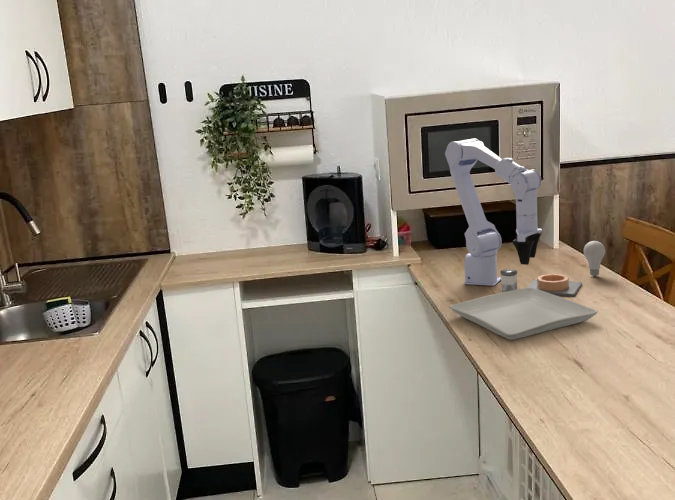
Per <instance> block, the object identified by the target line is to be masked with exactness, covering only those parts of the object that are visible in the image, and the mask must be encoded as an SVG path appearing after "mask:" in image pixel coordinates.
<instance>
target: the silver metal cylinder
mask: <svg viewBox="0 0 675 500" xmlns="http://www.w3.org/2000/svg"><path fill="white" fill-rule="evenodd" d="M499 272H500V277H501V280H500V282H501V293H502V292H507V291H513V290H518V270H517V269H513V268H509V269H508V268H505V269H502V270H500V271H499Z"/></svg>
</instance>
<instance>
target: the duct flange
mask: <svg viewBox="0 0 675 500" xmlns="http://www.w3.org/2000/svg"><path fill="white" fill-rule="evenodd" d="M582 286H583V282H582V281H574V280H573V281H572V280H570V281H569V277H568V276H567V275H565V274H561V273H560V274H559V273H549V274H548V273H546V274H543V275H539V276H537V278H535V279H532V281H531V282H530V283H528V285H527V286H526V287H525V288H529V287H530V288H534V289H537V290H540V291H544V292H547V293H550V294H553V295H556V296H559V297H572V298H573V297H575V296H576V295H577V293H578V291H579V290H580V288H581V287H582Z"/></svg>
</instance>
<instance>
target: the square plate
mask: <svg viewBox="0 0 675 500" xmlns="http://www.w3.org/2000/svg"><path fill="white" fill-rule="evenodd" d="M448 308H449V309H451V310H452V311H453V312H454V313H455V314H457V315H459V316H460V317H462V318H463V319H466V320H469V321H471V322H473V323H475V324H477V325H479V326H480V327H483V328H484V329H486V330H489V331H490V332H492V333H494V334H495V335H498V336H501V337H503V338H505V339H507V340H517V339H518V340H519V339H522V338H526V337H530V336H533V335H538V334H540V333H544V332H548V331H552V330H557V329H559V328H563V327H567V326H572V325H576V324H579V323H583V322H586V321H588V320H590V319H592V318H593V317H595V316H596V315H597V314H598V313H599V311H598V310H597V309H593V308H591V307H588V306H585V305H583V304H580V303H579V302H575V301H572V300H570V299H567V298H564V297H563V296H556V295H553V294H550V293H547V292H544V291H540V290H537V289H534V288H530V287H529V288H526V287H523V288H519V289H518V288H517V290H513V291H507V292H502V291H501V292H498V293H493V294H490V295H485V296H481V297H478V298H472V299H470V300H465V301H461V302H459V303H455V304H451V305H449V306H448Z"/></svg>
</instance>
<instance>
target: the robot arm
mask: <svg viewBox="0 0 675 500" xmlns="http://www.w3.org/2000/svg"><path fill="white" fill-rule="evenodd" d="M444 156H445V158H446V161H447V164H448V166H449V173H450V175H451V179H452V181H453V184H454V186H455V190H456V193H457V196H458V199H459V202H460V204H461V207H462V211H463V212H464V215H465V218H466V221H467V224H468V228H467V229H466V231H465V232H464V237H465V246H466V249H467V251H468V253H467V254H465V257H464V265H463V266H464V267H463V268H464V285H476V286H491V287H492V286H496V285H497V284H498V283H499V282H501V276H498V262H497V254H498V253H499V249H500V248H501V246H502V244H503V243H502V240H503V239H502V236H501V234H500V233H499V231H498V230H497V228H496V225H495V224H493V223H492V222H491V221H488V220H487V218H486V215H485V213H484V212H485V211H484V209H483V207H482V204H481V200H480V198H479V195H478V193H477V190H476V187H475V185H474V182H473V179H472V178H473V177H472V176H471V170H472V168H473V167H474V166H475V165H476V163H477V161H479V162H481V163H483V164H485V165H487V166H489V167H490V168H492V169H493V170H494V171H495V175H496V176H498V177H499V178H500V179H502V180H504V181H505V182H506V183H508V184H510V187H511V189H512V190H513V193H514V196H513V197H514V198H515V211H516V213H515V214H516V215H515V216H516V229H515V233H516V235H517V238H514V239H513V240H512V245H514V247H515V249H516V252H517V255H518V259H519V263H520V265H526V266H528V265H529V263H530V261H531V258H532V259H533V258H535V257H536V254H537V250H538V249H537V248H538V244H539V240H540V238H541V236H542V232H543V229H542V228H539V227H538V225H539V224H538V189H539V188H540V187H541V185H542V177H541V175H540V173H539V172H538V171H537V170H536V169H533V168H531V169H527V168H526V167H525V166H523V165H522V166H521V165H520V164H518V163H517V162H515V161H514V158H512V157H504V158H501V157H500V156H499V155H497V154H496V153H495V152H493V151H492V150H491V149H489V148H488V147H486V146H485V144H484V142H483V141H482V140H479V139H478V138H475V137H474V138H473V137H472V138H470V139H463V140H458V141H455V140H454V141H451V142H449V143H448V145H447V146H446V149H445V151H444Z"/></svg>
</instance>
